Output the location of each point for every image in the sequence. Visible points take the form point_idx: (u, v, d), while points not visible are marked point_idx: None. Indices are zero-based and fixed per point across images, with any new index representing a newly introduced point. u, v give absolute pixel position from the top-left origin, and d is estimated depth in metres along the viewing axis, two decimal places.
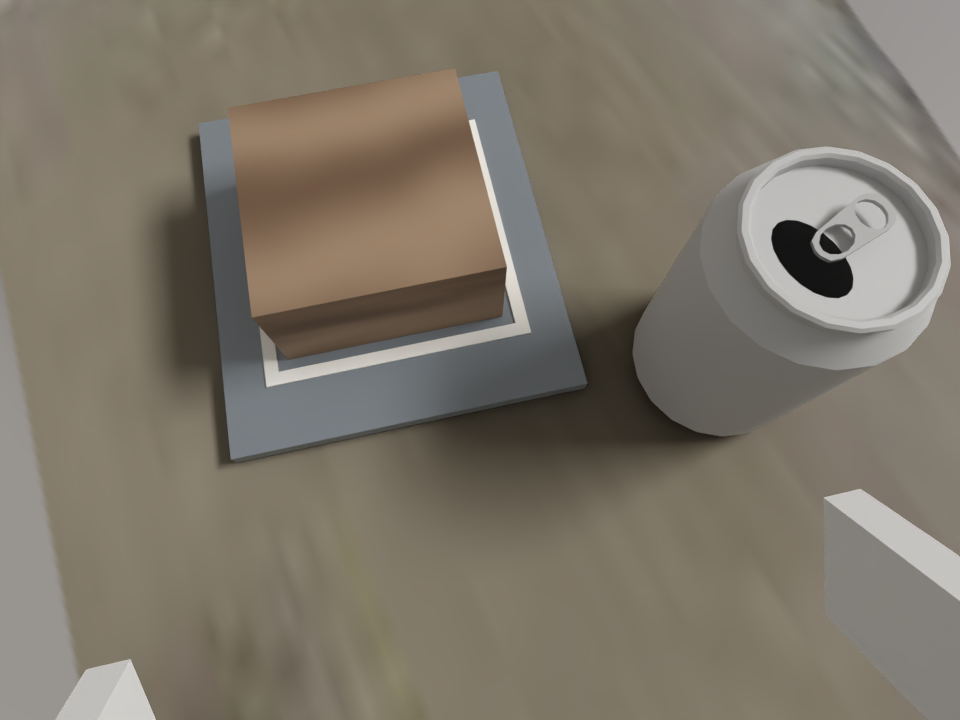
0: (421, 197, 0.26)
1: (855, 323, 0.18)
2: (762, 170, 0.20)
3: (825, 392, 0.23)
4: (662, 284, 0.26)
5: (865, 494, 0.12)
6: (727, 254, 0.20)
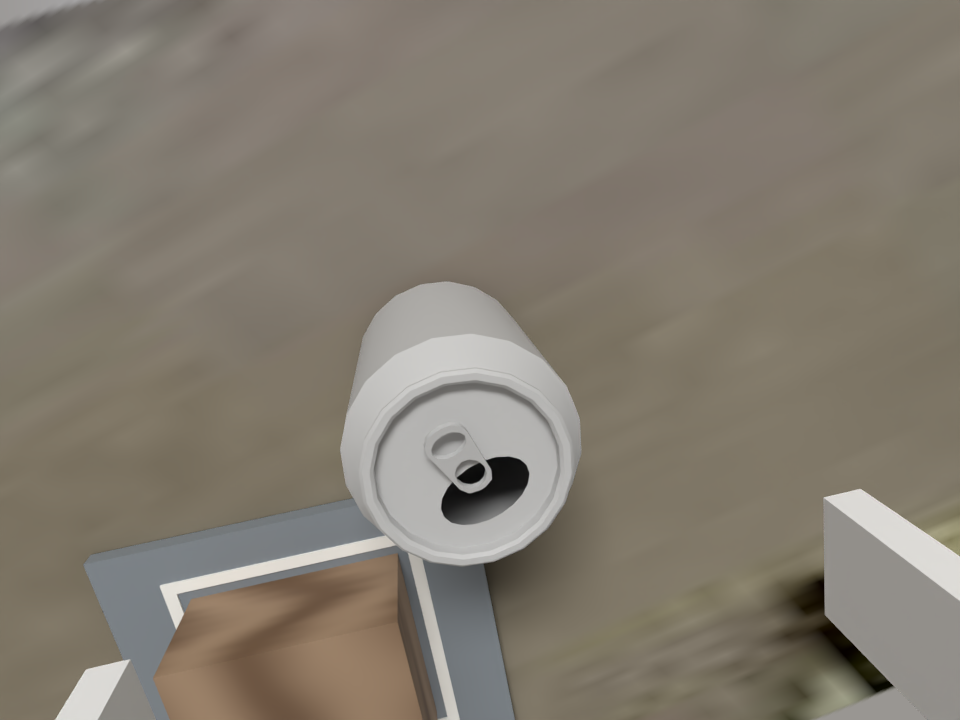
0: (321, 694, 0.27)
1: (566, 479, 0.19)
2: (391, 538, 0.19)
3: None
4: None
5: (865, 494, 0.12)
6: None
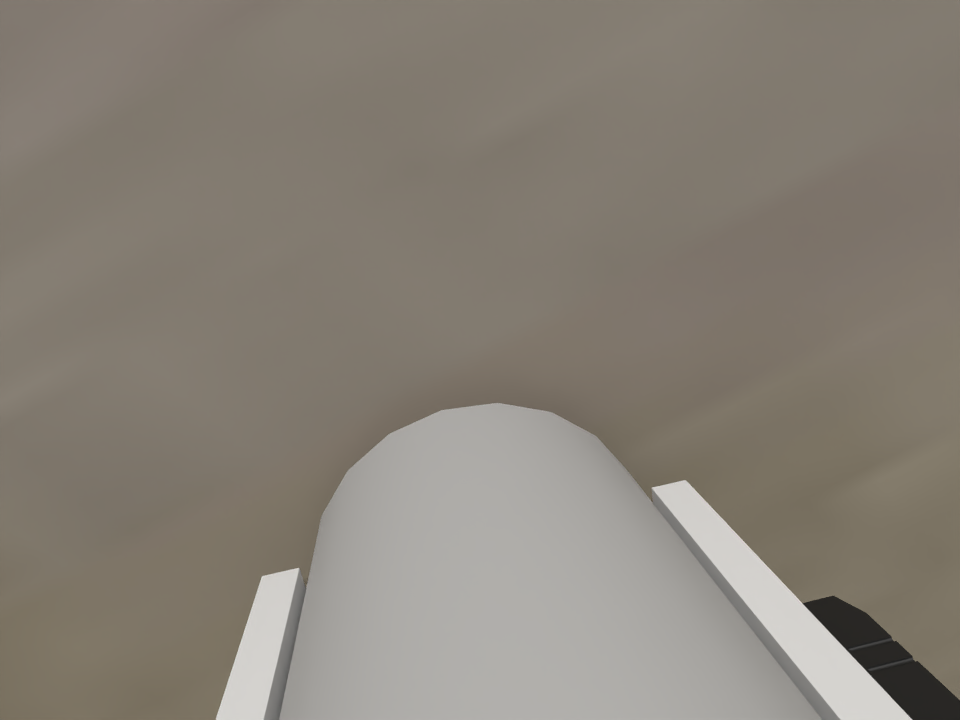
0: None
1: None
2: None
3: None
4: None
5: (687, 485, 0.13)
6: None
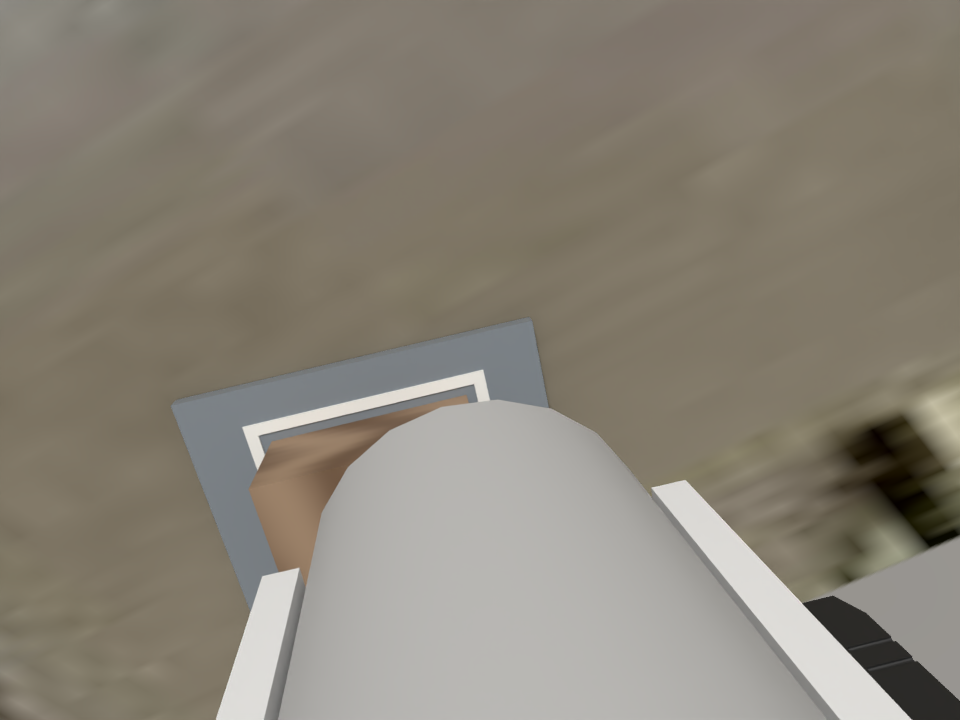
0: None
1: None
2: None
3: None
4: None
5: (687, 485, 0.13)
6: None
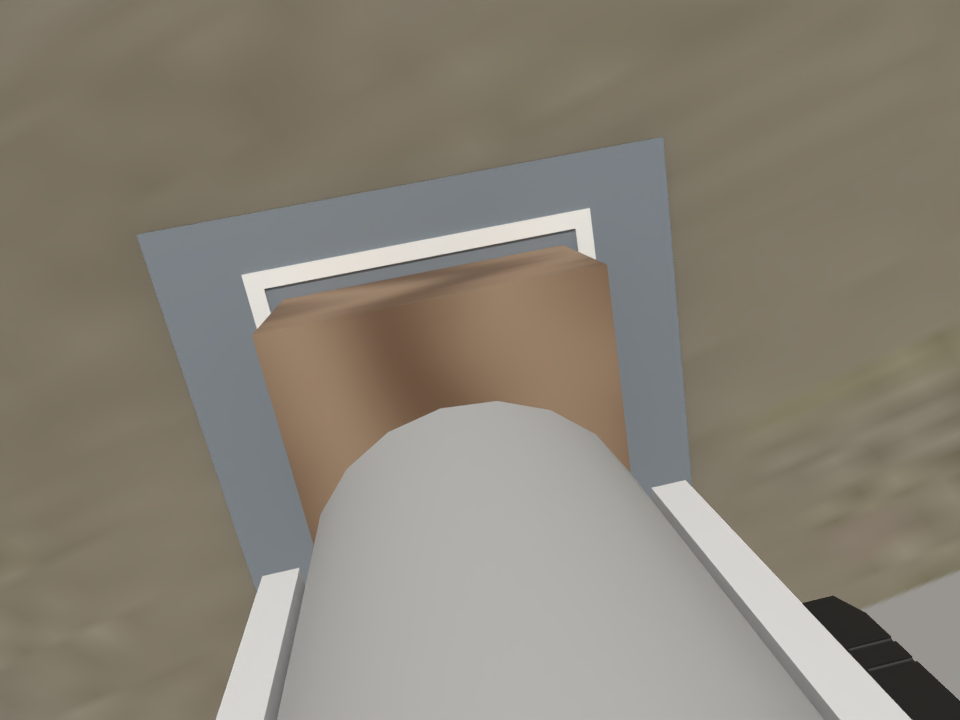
0: (490, 380, 0.19)
1: None
2: None
3: None
4: None
5: (687, 485, 0.13)
6: None
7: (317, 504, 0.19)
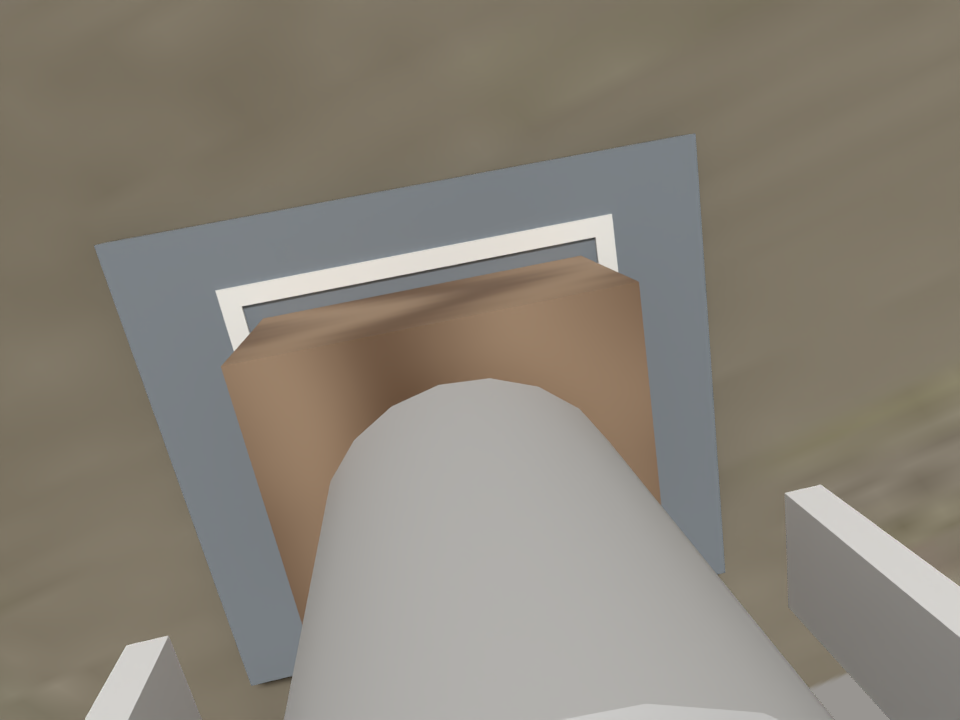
0: None
1: None
2: None
3: None
4: None
5: (824, 490, 0.12)
6: None
7: (300, 560, 0.16)
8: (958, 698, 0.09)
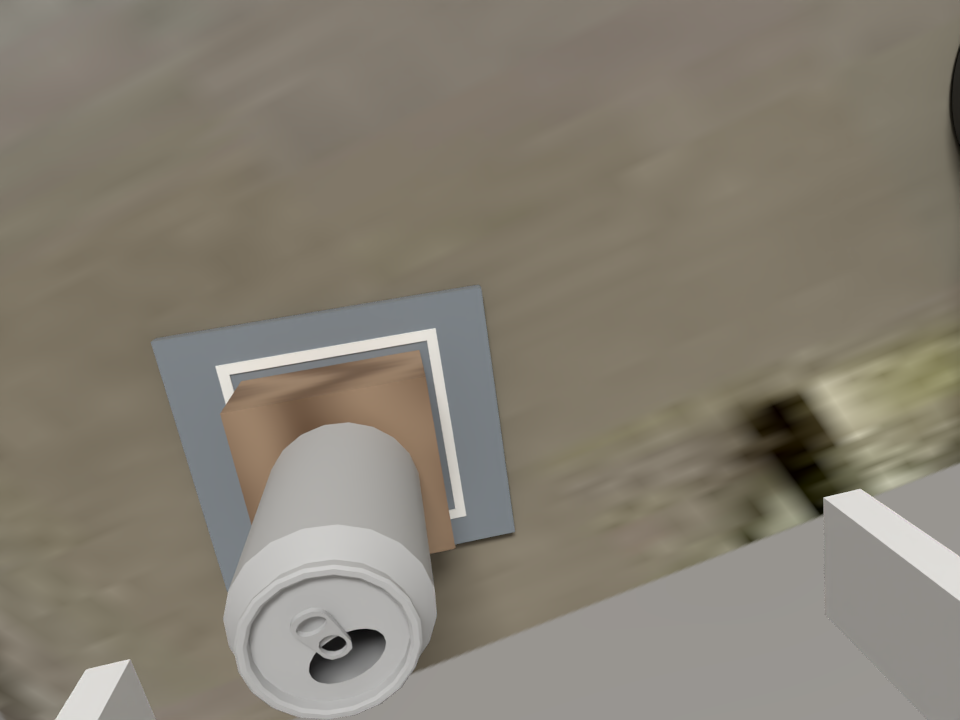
0: None
1: (415, 649, 0.22)
2: (263, 700, 0.22)
3: (420, 517, 0.27)
4: None
5: (865, 494, 0.12)
6: None
7: (256, 509, 0.32)
8: None
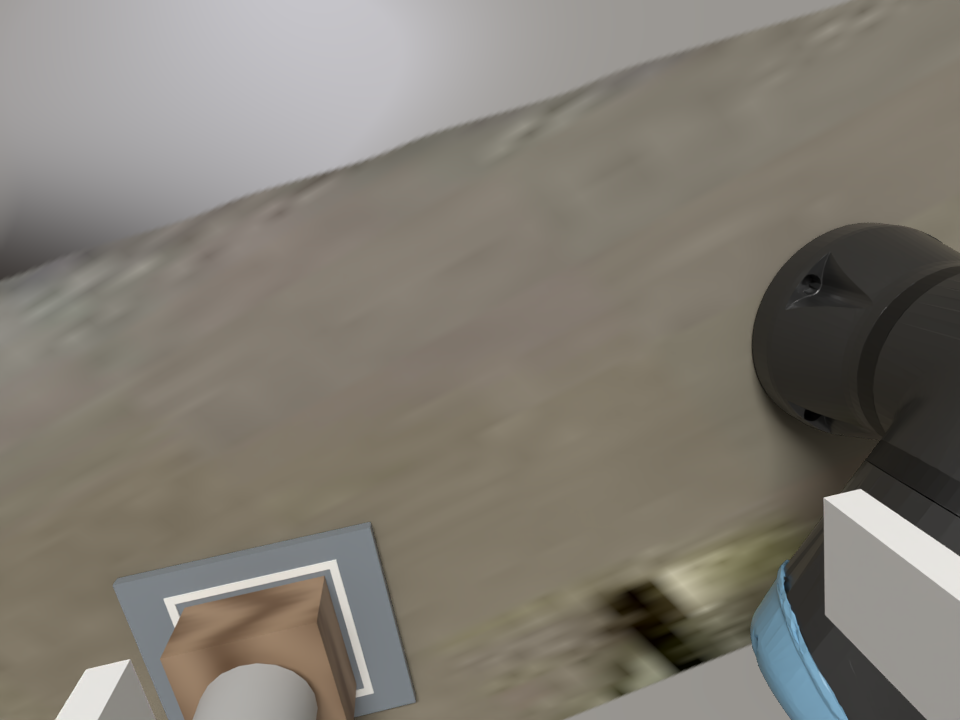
0: None
1: None
2: None
3: None
4: None
5: (865, 494, 0.12)
6: None
7: None
8: None
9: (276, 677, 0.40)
